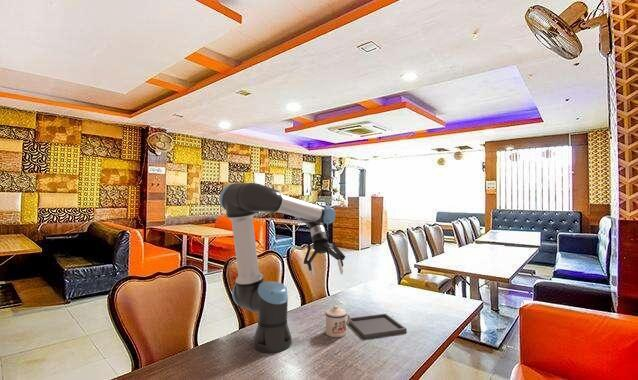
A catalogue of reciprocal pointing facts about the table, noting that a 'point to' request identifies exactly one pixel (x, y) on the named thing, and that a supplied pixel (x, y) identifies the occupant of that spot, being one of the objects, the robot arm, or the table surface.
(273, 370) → the table surface
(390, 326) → the tea tray
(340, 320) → the teacup with lid
